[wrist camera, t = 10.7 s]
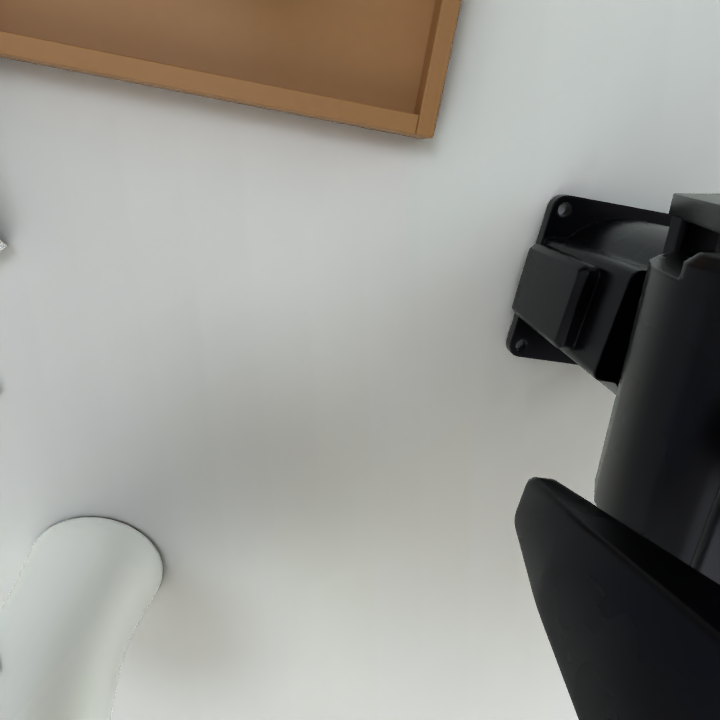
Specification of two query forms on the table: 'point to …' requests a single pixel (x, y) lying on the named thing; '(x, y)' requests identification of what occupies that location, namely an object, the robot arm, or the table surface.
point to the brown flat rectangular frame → (255, 52)
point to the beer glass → (74, 619)
